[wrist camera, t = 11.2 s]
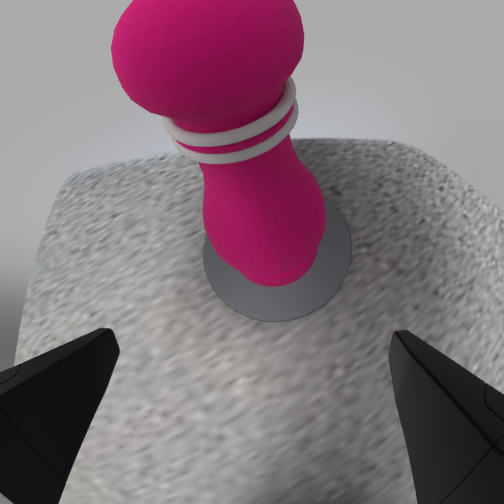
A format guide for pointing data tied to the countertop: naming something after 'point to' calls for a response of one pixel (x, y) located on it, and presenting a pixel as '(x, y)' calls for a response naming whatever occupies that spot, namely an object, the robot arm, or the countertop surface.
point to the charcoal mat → (291, 295)
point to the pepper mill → (231, 121)
